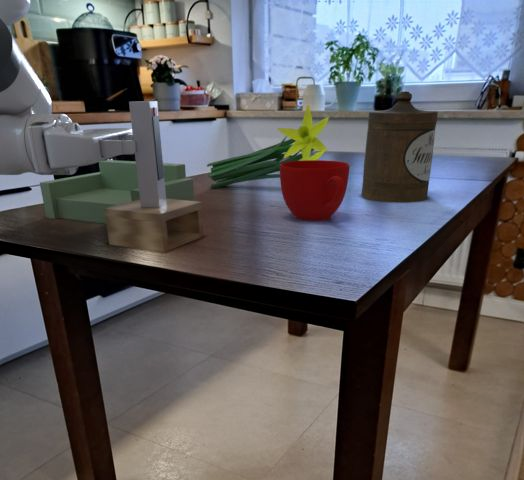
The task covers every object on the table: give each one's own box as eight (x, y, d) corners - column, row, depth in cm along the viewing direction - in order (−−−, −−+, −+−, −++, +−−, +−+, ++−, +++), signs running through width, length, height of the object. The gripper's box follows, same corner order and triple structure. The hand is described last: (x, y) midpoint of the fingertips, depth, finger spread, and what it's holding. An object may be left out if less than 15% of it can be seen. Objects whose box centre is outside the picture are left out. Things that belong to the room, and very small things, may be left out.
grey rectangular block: (140, 207, 81) (128, 101, 74) (148, 202, 85) (137, 101, 78) (161, 207, 81) (150, 101, 74) (168, 202, 85) (158, 101, 78)
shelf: (109, 246, 84) (103, 208, 81) (152, 231, 92) (148, 196, 90) (164, 253, 79) (160, 214, 76) (203, 237, 88) (201, 201, 85)
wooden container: (422, 205, 111) (436, 90, 101) (354, 201, 116) (361, 91, 107) (431, 194, 123) (444, 91, 113) (369, 190, 128) (377, 92, 119)
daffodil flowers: (233, 184, 145) (353, 152, 129) (220, 221, 137) (346, 192, 121) (202, 133, 133) (330, 91, 117) (187, 170, 125) (321, 131, 109)
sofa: (46, 219, 103) (36, 168, 98) (106, 204, 116) (99, 159, 112) (145, 231, 92) (139, 175, 88) (198, 213, 106) (195, 164, 102)
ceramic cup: (306, 233, 90) (307, 173, 85) (269, 214, 104) (269, 162, 99) (370, 226, 94) (375, 168, 89) (326, 209, 108) (328, 158, 104)
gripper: (86, 158, 91) (163, 158, 90) (31, 175, 73) (127, 175, 72) (80, 119, 88) (159, 118, 87) (21, 126, 70) (121, 125, 69)
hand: (145, 144), depth 79 cm, fingers open, 8 cm apart
